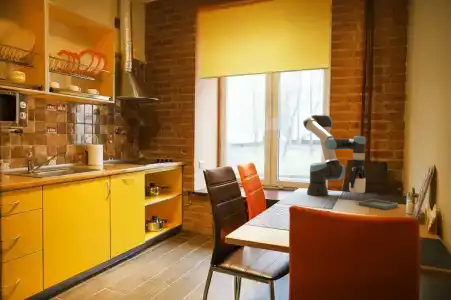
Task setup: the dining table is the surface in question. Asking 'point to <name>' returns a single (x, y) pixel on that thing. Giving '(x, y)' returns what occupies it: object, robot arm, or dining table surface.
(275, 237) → the dining table surface
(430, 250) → the dining table surface
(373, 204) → the tray
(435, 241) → the dining table surface
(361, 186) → the cup
